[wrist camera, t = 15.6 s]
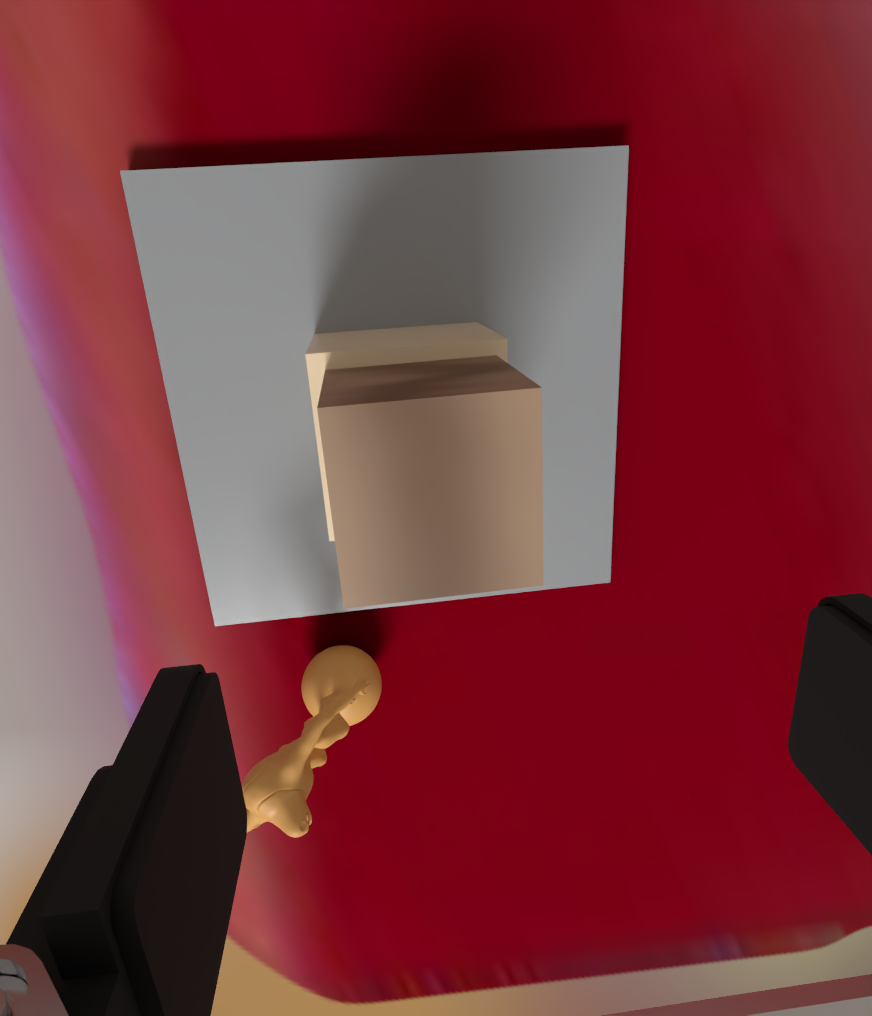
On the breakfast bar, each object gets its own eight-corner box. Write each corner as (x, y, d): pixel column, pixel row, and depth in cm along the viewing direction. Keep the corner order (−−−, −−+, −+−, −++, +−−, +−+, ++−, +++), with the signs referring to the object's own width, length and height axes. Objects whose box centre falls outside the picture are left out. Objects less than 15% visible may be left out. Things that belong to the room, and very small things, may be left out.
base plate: (619, 148, 28) (701, 117, 21) (603, 573, 35) (660, 646, 29) (128, 173, 26) (54, 147, 20) (218, 615, 33) (187, 703, 27)
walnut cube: (496, 355, 23) (541, 387, 18) (501, 512, 26) (543, 585, 20) (325, 370, 23) (317, 408, 17) (345, 529, 25) (344, 608, 20)
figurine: (333, 733, 37) (326, 941, 26) (235, 688, 35) (181, 890, 24) (416, 620, 35) (447, 793, 24) (317, 567, 33) (300, 726, 22)
